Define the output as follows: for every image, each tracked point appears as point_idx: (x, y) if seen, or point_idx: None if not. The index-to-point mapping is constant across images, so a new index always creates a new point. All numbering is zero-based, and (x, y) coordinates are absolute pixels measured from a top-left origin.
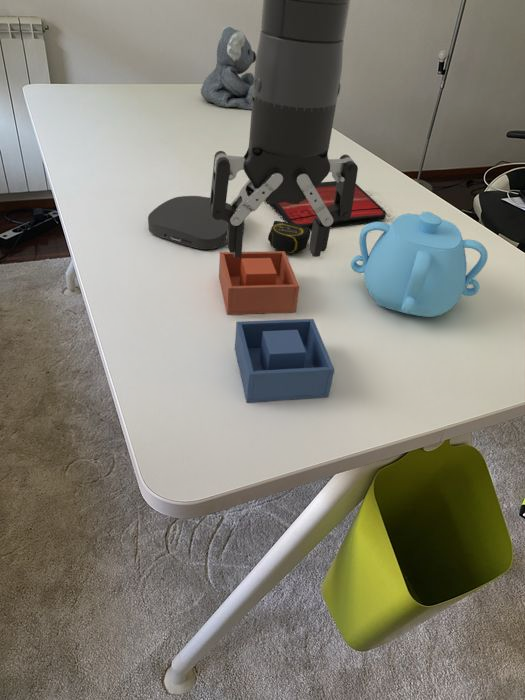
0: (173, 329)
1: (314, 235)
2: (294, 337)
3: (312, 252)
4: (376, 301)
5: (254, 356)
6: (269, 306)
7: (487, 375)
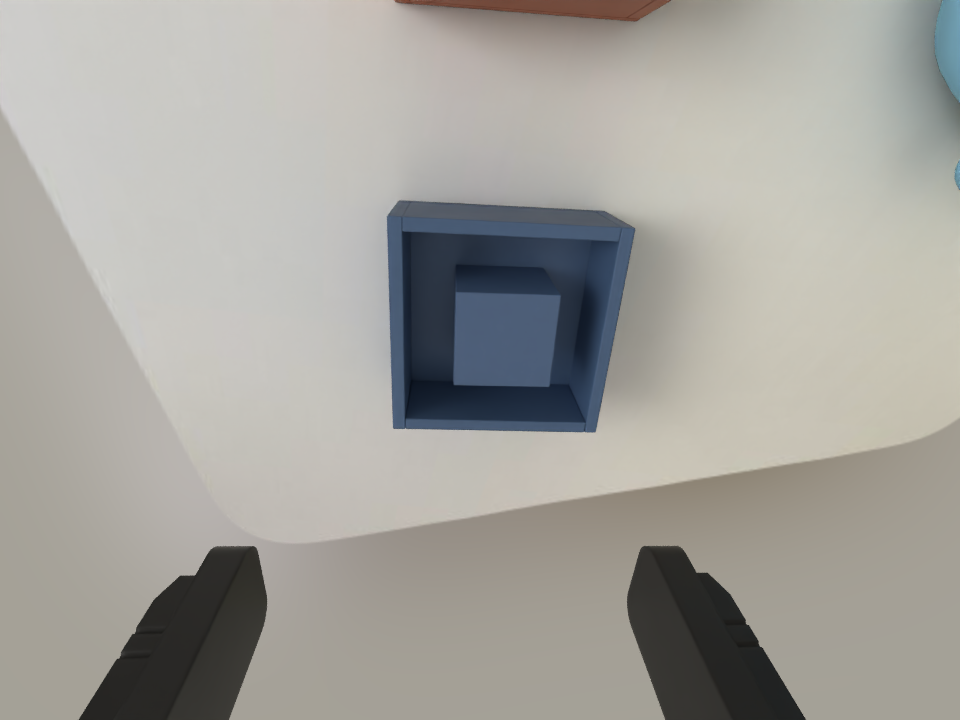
0: (214, 71)
1: (675, 682)
2: (539, 328)
3: (636, 596)
4: (936, 36)
5: (443, 253)
6: (546, 7)
7: (949, 367)
